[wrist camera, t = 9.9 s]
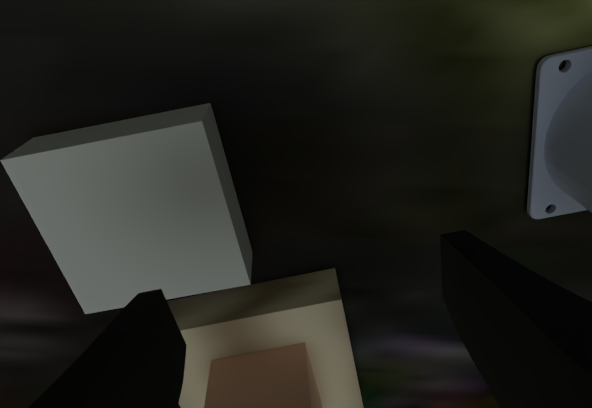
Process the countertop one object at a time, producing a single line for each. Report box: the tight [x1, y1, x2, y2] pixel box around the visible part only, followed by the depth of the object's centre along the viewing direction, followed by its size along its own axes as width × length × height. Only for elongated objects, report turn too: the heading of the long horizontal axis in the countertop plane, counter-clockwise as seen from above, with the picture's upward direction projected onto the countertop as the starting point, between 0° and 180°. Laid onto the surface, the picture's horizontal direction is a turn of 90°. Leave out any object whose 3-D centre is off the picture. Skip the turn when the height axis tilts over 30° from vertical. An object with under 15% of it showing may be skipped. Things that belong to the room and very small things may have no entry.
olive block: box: [167, 268, 363, 408], centre depth 25 cm, size 10×10×3 cm
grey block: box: [0, 103, 253, 314], centre depth 20 cm, size 8×8×3 cm
